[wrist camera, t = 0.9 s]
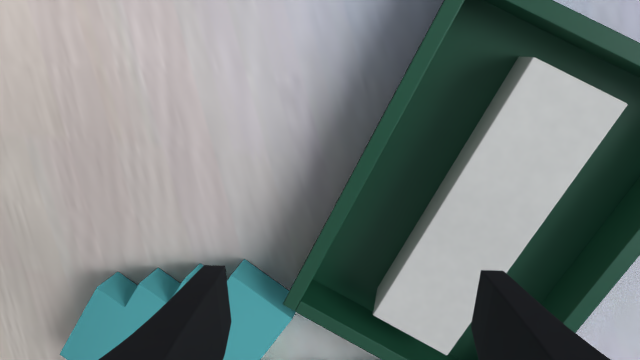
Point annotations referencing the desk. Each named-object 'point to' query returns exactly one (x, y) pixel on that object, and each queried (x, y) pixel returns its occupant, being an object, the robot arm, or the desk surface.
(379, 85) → the desk surface
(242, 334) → the alien figure
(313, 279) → the green tray
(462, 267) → the white block
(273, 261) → the desk surface
